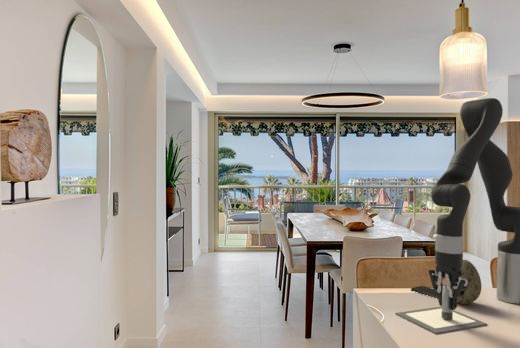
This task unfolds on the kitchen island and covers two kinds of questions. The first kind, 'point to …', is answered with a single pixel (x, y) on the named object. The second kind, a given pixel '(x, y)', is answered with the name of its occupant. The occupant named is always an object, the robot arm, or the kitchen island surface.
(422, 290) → the phone
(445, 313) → the marker
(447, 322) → the writing mat
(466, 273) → the decorative egg
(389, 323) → the kitchen island surface
